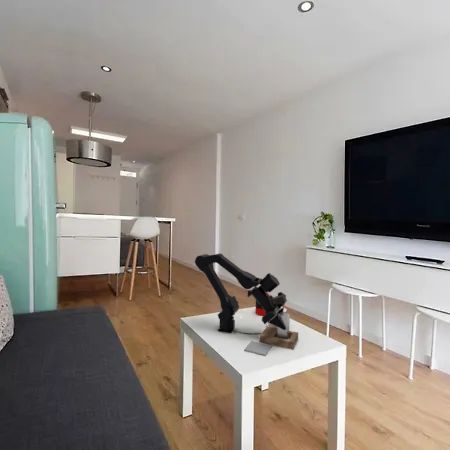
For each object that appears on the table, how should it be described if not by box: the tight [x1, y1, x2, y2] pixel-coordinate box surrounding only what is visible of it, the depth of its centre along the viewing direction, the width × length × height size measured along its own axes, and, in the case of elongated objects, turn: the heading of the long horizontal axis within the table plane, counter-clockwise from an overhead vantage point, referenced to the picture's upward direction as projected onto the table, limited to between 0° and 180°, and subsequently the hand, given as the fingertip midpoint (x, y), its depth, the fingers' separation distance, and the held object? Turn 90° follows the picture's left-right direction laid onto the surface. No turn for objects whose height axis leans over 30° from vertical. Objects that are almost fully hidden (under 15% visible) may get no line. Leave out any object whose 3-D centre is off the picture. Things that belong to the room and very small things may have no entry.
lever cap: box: [277, 312, 291, 340], centre depth 126 cm, size 4×5×12 cm
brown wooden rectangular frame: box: [259, 326, 299, 350], centre depth 127 cm, size 14×11×3 cm
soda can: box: [255, 292, 270, 317], centre depth 160 cm, size 8×8×12 cm
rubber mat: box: [243, 340, 273, 357], centre depth 119 cm, size 9×9×1 cm
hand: (286, 327), depth 125 cm, fingers closed on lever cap, 5 cm apart
